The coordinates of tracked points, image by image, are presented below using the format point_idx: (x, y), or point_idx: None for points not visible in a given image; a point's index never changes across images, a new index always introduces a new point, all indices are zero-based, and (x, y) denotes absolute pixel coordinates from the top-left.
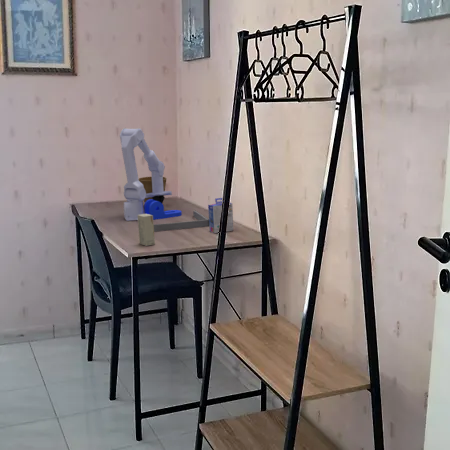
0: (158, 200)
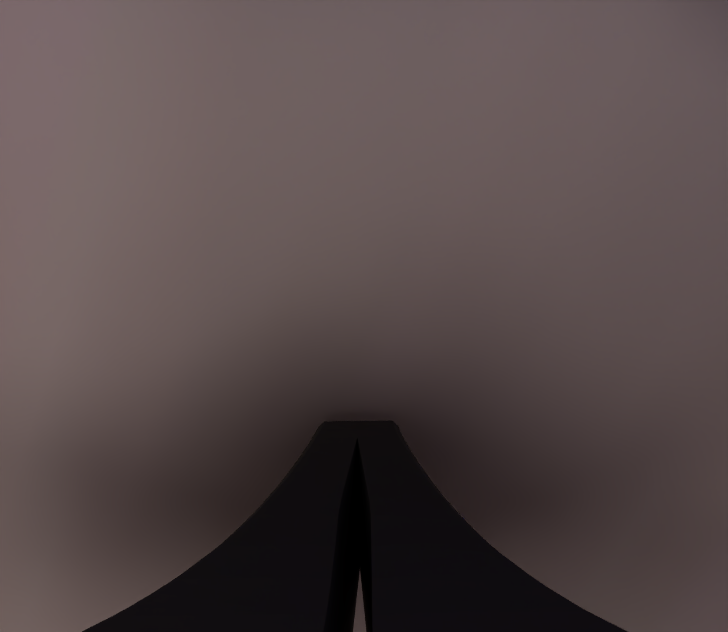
0: (459, 602)
